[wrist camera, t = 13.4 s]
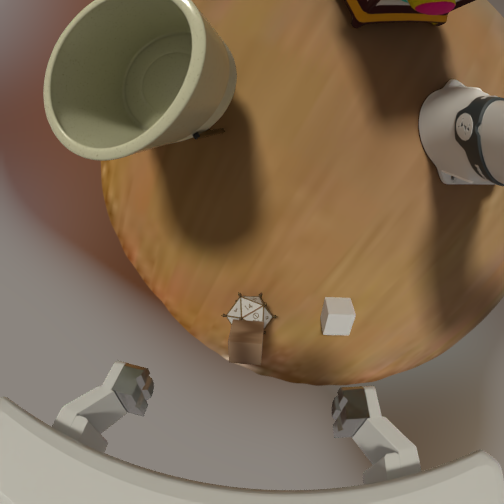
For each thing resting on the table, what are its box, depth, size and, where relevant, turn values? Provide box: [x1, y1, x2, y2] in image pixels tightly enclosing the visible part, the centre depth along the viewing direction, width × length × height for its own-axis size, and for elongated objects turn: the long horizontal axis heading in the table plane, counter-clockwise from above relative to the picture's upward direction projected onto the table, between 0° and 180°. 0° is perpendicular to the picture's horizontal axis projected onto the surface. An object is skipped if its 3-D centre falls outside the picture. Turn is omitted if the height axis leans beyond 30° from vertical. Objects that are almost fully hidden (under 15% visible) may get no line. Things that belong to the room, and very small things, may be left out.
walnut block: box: [228, 319, 264, 365], centre depth 41 cm, size 5×5×5 cm
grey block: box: [320, 297, 356, 335], centre depth 47 cm, size 5×5×5 cm
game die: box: [221, 293, 277, 334], centre depth 47 cm, size 9×8×10 cm
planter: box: [44, 0, 237, 160], centre depth 24 cm, size 15×16×23 cm
